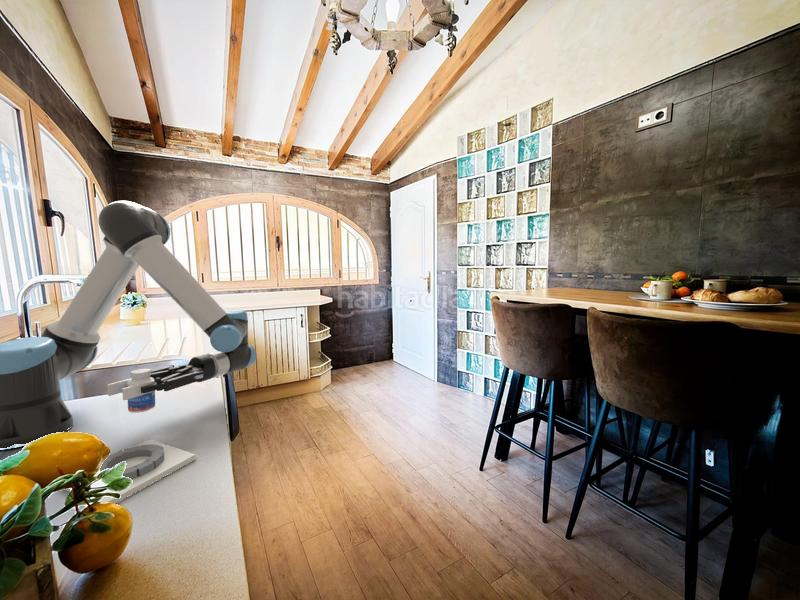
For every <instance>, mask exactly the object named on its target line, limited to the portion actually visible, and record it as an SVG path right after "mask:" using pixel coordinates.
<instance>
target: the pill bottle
mask: <svg viewBox="0 0 800 600" xmlns="http://www.w3.org/2000/svg"><path fill="white" fill-rule="evenodd" d="M151 371H152V369H150V368H139V369H134V370H131V371H130V379H131V378H132V380H130V381H129V382H128V383H127V387H130V386H133V385H137V384H141V383H144V382H148V381H151V380H154V378H152V377H150V376H151ZM155 406H156V390H155V391H154V392H151V393H147V394H144V395H141V396H138V397H134V398H131V399H128V400H127V411H128V412H129V413H132V414H133V413H134V414H136V413H137V414H138V413H144V412H148V411H150V410H152V409H154V408H155Z"/></svg>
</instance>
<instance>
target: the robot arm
mask: <svg viewBox="0 0 800 600" xmlns="http://www.w3.org/2000/svg"><path fill="white" fill-rule="evenodd" d="M97 220H98V226H99V228H100V230H101V233H102V234H103V236H104V237H103V239H102V241H103V244H104V246H105V249H104V251H103V252H102V254H101V255H100V257H99V258H98V260H97V261H96V262H95V264H94V266H93V268H92V269H91V270H90V272H89V274H88V276H86V278H85V280H84V281H83V284H81V287H80V288H79V289H78V291H77V293H76V294H75V296H74V297H73V299H72V300H71V302H70V304H69V306H67V308H66V310H65V311H64V313H63V315H61V318H60V319H59V320H58V321H55V322H50V323H49V324H48V325H46V328H45V329H44V330H43V332H42V334H41V335H40V336H33V337H32V336H31V337H23V338H17V339H14V340H7V341H4V342H0V448H7V447H10V446H12V445H14V444H26V443H29V442H31V441H33V440H36V439H38V438H40V437H43V436H45V435H48V434H51V433H56V432H63V431H66V432H67V431H69V430H67V429H68V428H70V427H71V426H72V427H73V426H74V418H73V414H72V413H71V411H70V410H69V408H68V407H67V404H65V402H64V401H63V398H62V396H61V386H60V385H61V384H60V380H63V379H64V378H67V377H69V376H71V375H74V374H76V373H78V372H80V371H83V370H84V369H86V367H88V366H90V365H91V364H92V362H93V361H94V360H95V359H96V357H97V354H98V346H97V345H98V344H99V342H101V335H100V334H99V330H100V329H101V327H102V326H103V324H104V323H105V321H106V319H107V318H108V316H109V315H110V313H111V311H112V310H113V308H114V307H115V305H116V304H117V302H118V300H119V299H120V297H121V295H122V294H123V293H124V291H125V288H126V287H127V286H128V284H129V283H130V281H131V279H132V278H133V276H134V274H135V272H136V271H137V270H138V268H139V267H140V268H142V269H143V270H144V271H145V273H147V274H148V276H150V278H151V279H152V280H153V281H154V282H155V283H156V284H157V285H158V286H159V287H160V288H161V289H162V290H163V291H164V292H165V293H166V294H167V295H168V296H169V297H170V299H172V300H173V301H174V302H175V304H177V306H179V308H180V309H181V310H183V312H185V314H187V316H188V317H189V318H190V319H191V320H192V321H193V323H195V324H196V325H197V326H198V327H199V328H200V329H201V330H202V331H203V332H204V334H206V335H207V337H208V338H209V341H210V345H211V347H212V348H213V349H214V350H216V351H213V352H209V353H205V354H201V355H197V356H194V357H191V359H190V360H189V361H188V364H179V365H178V366H175V365H174V364H171V365H168V366H165V367H160V368H156V369H151V376H150V377H152V378H154V380H151V381H148V382H144V383H141V384H137V385H133V386H130V387H127V383H128V382H129V381H130V380H132V378H131V377H130V378H127V379H123V380H120V381H116V382H112V383H111V382H110V383H108V384H106V385H107V396H109V397H111V396H115V395H118V394H122V401H128V399H131V398H134V397H138V396H141V395H144V394H147V393H151V392H154V391H155V392H160V391H164V392H168V391H169V392H170V391H173V390H176V389H178V388H182V387H184V386H189V385H190V384H193V383H202V382H205V381H209V380H211V379H214V378H216V379H218V378H220V376H223V375H227V374H229V373H233V372H236V371H241V370H244V369H245V368H249V367H251V366H253V365H254V364H255V363H256V360H257V359H258V357H257V355H258V354H257V352H256V349H255V347H254V346H252V345H251V344H249V319H248V318H249V317H248V313H247V311H244V310H227V311H225V310H224V309H223V308H222V306H221V305H219V304H218V302H217V301H216V300H215V299H214V298H213V296H211V295H210V294H209V293H208V292H207V290H206V289H205V288H204V287H203V286H202V285H201V284H200V283H199V281H198V280H197V279H196V278H195V277H194V276H193V275H192V274H191V273H190V272H189V271H188V270H187V268H185V267H184V265H183V264H182V263H181V262H180V261H179V259H177V257H175V256H174V254H173V253H172V252H171V251H170V250H169V249H168V248H167V247H166V246H165V245H166V244H167V242H168V241H169V240H170V236H171V228H170V225H169V223H168V221H167V220H166V219H165V218H164V216H162V215H161V214H160V213H158V212H157V211H156V210H153V209H151V208H149V207H146V206H143V205H141V204H138V203H136V202H134V201H133V202H132V201H129V200H117V201H113V202H111V203H108V204H106V205H105V206H104V207H103V208H102V210H101V211H100V212H99V214H98V219H97ZM72 427H71V428H72ZM71 428H70V429H71Z"/></svg>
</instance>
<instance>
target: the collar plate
mask: <svg viewBox="0 0 800 600" xmlns="http://www.w3.org/2000/svg"><path fill="white" fill-rule="evenodd" d="M108 456H109V457H108V458H107V457H106V458H107V459H106V460H105V461H104V462H103V464H102V466H101V468H100V471H102V470H104V469H106V468H112V467H114V466H115V465H116V464H118V463H120V462H122V461H126V463H127V465H126V469H125V471H124V473H123V476H125V477H129V478H131V479H132V480H133V483H132V484H131V486H130V487H129V488H127V489H126V490H124V491H122V492H119V494H120V495H121V498H120V499H115V498H111V497H104V498H103V499H102V500H101V502H102V503H106V502H112V503H117V504H119V503H121V502H123V501H124V500H126V499H127V498H126V497H127V496H129V495H131V494H133V493H135V492H137V491H139V490H140V489H142V488H144V487H145V486H147V485H149V484H151V483H152V482H155V481H156V480H158V481H160V480H161V479H160V478H162V477H163V476H165V475H167V474H169V473H171V472H173V471H175V470H177V469H178V470H180V469H181V467H182V468H183V466H184V465H186V464H187V465H189V464H190V462H191V463H192V461H193V462H195V461H196V460H197V456H196V453H192V452H189V451H186V450H183V449H180V448H177V447H174V446H171V445H168V444H165V443H162V442H159V441H156V440H154V439H153V440H152V439H147V440H145V441H143V442H140V443H138V444H136V445H134V446H132V447H128V448H124V449H123V450H122V449H121V450H118V451H117V452H114V453H111V454H110V455H108ZM194 460H195V461H194ZM188 463H189V464H188ZM187 465H186V466H187ZM184 467H185V466H184ZM179 468H180V469H179ZM178 470H177V471H178ZM175 472H176V471H175ZM173 473H174V472H173ZM171 474H172V473H171ZM169 475H170V474H169ZM159 479H160V480H159ZM162 479H163V478H162ZM155 483H156V482H155ZM151 485H152V484H151ZM149 486H150V485H149ZM144 489H145V488H144ZM142 490H143V489H142ZM65 491H67V492H69V493H70V489H67V490H65ZM140 491H141V490H140ZM140 491H139V492H140ZM137 493H138V492H137ZM135 494H136V493H135ZM133 495H134V494H133ZM131 496H132V495H131ZM125 498H126V499H125ZM123 499H124V500H123Z"/></svg>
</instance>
